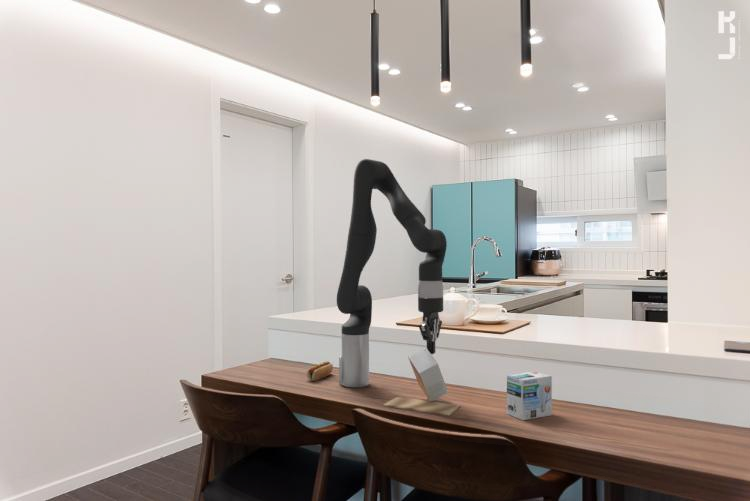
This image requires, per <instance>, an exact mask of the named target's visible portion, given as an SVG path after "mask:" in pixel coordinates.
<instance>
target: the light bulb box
mask: <svg viewBox="0 0 750 501" xmlns="http://www.w3.org/2000/svg"><path fill="white" fill-rule="evenodd" d="M552 379H553V376H552V375H548V374H545V373H542V372H538V371H528V372H522V373H521V372H520V373H514V374H507V375H506V414H507V415H508V416H511V417H513V418H514V417H515V418H516V419H519V420H521V421H526V420H531V419H537V418H545V417H550V416H552V412H553V411H552V404H553V403H552V400H553V399H552V398H553V397H552V396H553V395H552V394H553V393H552V392H553V390H552V387H553V384H552V381H553V380H552Z"/></svg>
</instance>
